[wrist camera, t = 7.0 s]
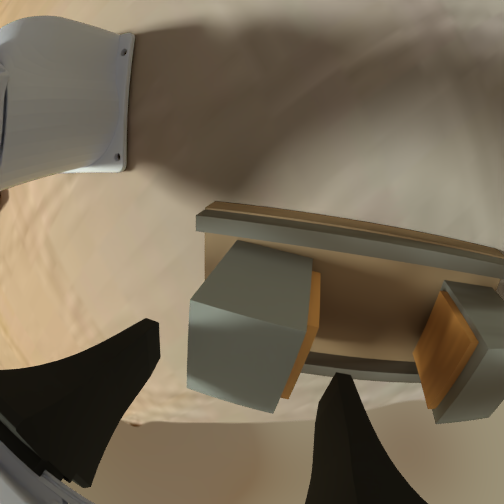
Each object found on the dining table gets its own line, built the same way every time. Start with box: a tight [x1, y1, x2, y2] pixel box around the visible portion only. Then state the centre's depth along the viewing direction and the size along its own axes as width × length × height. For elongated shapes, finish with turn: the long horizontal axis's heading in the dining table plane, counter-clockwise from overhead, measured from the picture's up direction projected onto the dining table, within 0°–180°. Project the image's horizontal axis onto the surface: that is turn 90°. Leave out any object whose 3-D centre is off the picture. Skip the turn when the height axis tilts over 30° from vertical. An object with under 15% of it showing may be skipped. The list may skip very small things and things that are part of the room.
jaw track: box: [196, 201, 504, 424], centre depth 13 cm, size 9×18×8 cm, turn 86°
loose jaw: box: [187, 240, 321, 414], centre depth 13 cm, size 5×4×6 cm
